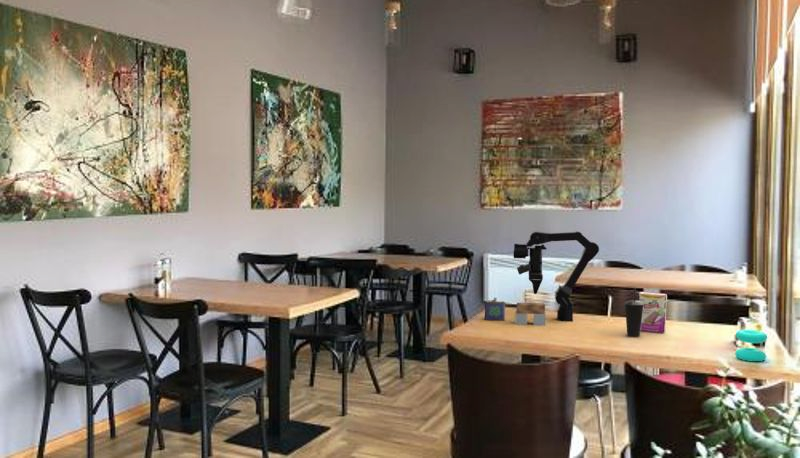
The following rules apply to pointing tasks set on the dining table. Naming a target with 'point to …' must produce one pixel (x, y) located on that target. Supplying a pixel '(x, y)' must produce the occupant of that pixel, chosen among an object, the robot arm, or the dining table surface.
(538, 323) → the pillar
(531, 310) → the lintel
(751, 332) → the teal stacked rounded discs
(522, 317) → the tilted pale grey prism
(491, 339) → the dining table surface
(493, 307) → the flask
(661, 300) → the candy bar box
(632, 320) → the drinking cup
